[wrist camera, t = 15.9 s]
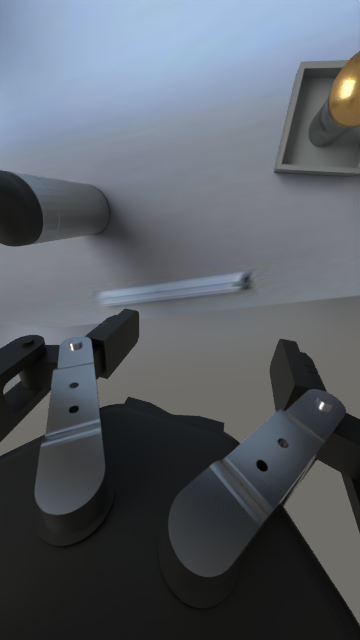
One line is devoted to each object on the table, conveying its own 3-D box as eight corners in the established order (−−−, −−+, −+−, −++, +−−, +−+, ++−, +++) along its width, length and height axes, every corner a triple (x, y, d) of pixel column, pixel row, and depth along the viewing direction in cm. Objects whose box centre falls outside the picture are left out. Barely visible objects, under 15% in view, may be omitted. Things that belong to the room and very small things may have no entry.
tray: (273, 171, 36) (275, 168, 33) (296, 74, 30) (301, 61, 28) (350, 176, 33) (359, 173, 31) (388, 72, 28) (404, 58, 26)
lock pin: (298, 151, 33) (322, 125, 23) (311, 101, 31) (344, 46, 20) (339, 152, 32) (384, 125, 22) (356, 100, 30) (415, 41, 19)
